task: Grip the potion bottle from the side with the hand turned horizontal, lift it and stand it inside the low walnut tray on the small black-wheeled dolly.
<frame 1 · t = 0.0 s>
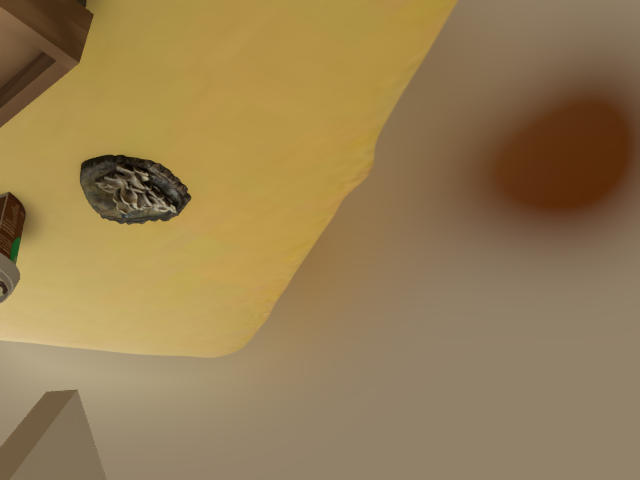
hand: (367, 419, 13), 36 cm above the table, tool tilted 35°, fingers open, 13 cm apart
grey lumpy piece: (134, 184, 64), on the table
food container: (1, 216, 68), on the table
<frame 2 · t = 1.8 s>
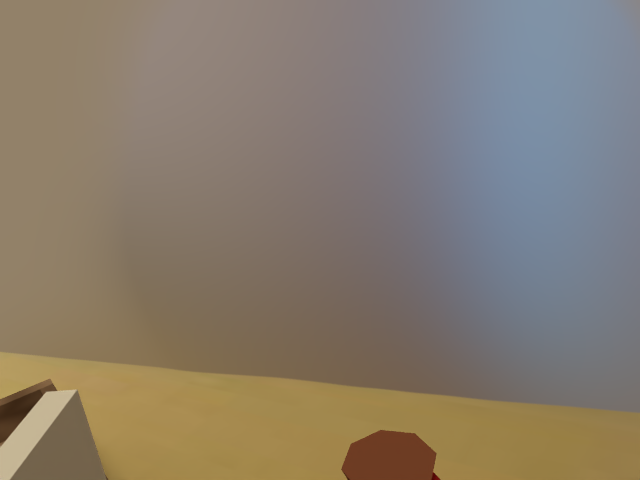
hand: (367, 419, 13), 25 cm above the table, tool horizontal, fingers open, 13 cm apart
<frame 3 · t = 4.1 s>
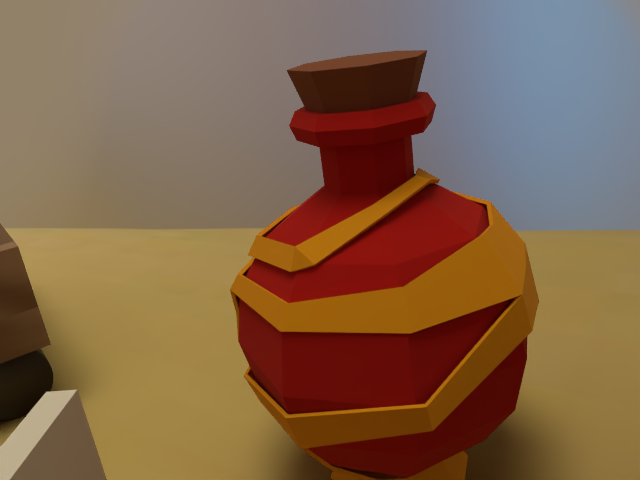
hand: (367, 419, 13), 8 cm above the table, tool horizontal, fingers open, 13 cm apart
potion bottle: (402, 468, 23), on the table
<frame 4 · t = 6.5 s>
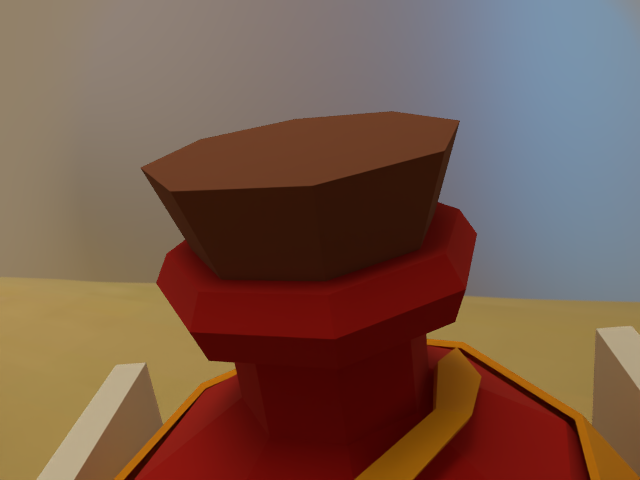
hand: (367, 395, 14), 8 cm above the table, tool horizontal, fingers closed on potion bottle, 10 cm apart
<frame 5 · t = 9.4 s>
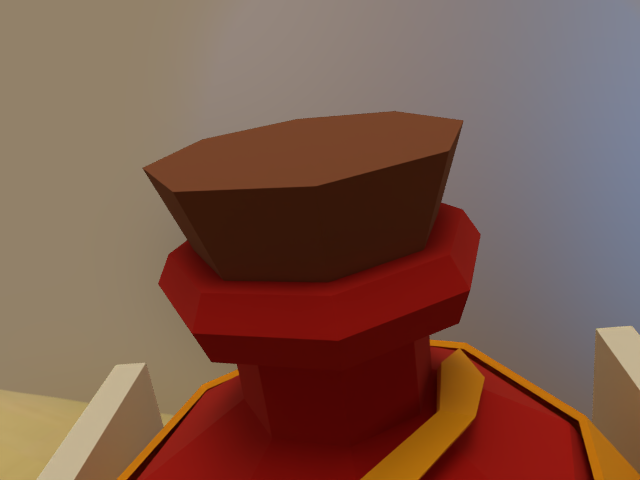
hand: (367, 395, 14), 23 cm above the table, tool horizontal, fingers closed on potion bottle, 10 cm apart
when the fingers open (15 cm above the table, at t = 12.2 s): potion bottle drops 1 cm, resting on dolly.
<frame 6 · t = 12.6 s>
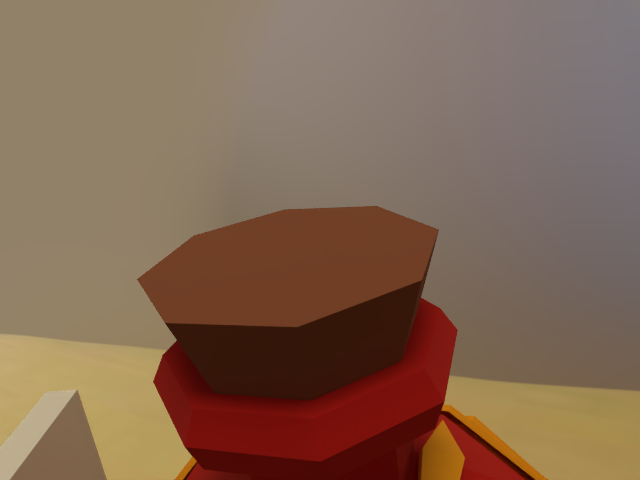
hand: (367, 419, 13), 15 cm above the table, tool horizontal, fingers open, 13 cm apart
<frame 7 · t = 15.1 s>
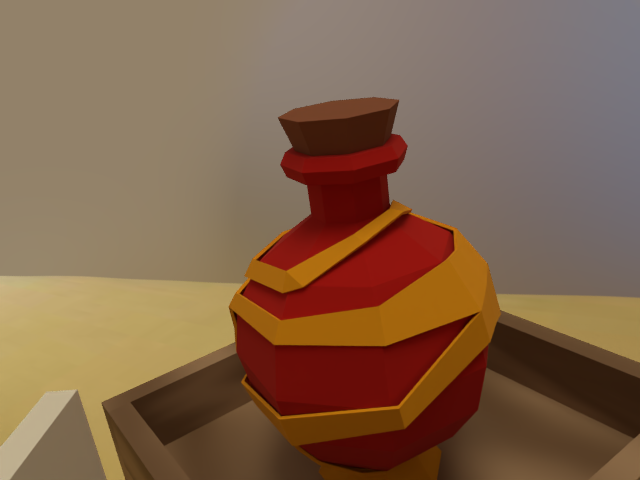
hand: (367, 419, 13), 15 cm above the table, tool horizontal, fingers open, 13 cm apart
potion bottle: (383, 463, 26), point 5 cm above the table, touching dolly
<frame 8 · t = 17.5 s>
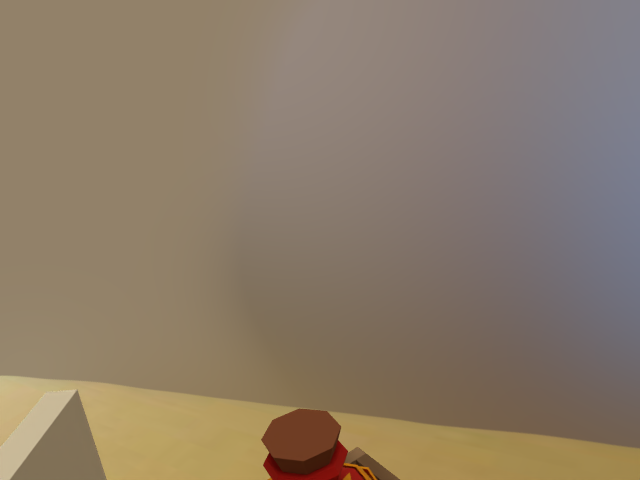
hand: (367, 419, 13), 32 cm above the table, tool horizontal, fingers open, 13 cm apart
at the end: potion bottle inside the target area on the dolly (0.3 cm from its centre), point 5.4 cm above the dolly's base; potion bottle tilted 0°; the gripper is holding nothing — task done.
